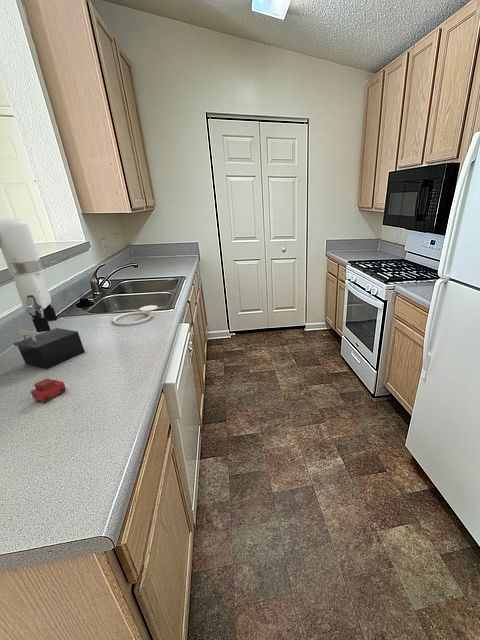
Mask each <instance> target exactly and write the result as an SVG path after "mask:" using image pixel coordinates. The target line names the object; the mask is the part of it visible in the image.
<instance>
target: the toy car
mask: <svg viewBox="0 0 480 640" xmlns="http://www.w3.org/2000/svg"><path fill="white" fill-rule="evenodd" d="M33 385H34V388H33V389H32V390H30V394H31V396H32V398H33V400H34V401H38V402H41V403H48V402H50V400H51V399H52V398H54V397H56V396H58V395H59V394H60V395H63V394H64V393H65V392H66V391H67V387H66V385H65V383H64V381H61V380H57V379H51V378H47V377H46V378H44V379H42V380H40V381H38V382H36V383H34V384H33Z"/></svg>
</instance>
